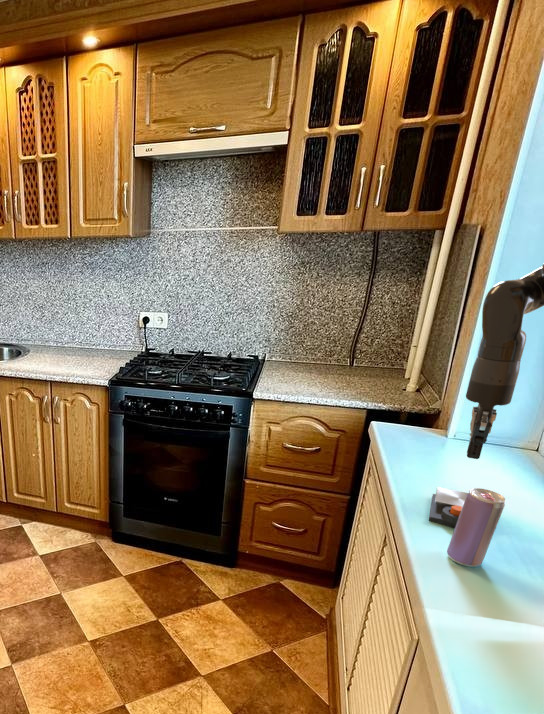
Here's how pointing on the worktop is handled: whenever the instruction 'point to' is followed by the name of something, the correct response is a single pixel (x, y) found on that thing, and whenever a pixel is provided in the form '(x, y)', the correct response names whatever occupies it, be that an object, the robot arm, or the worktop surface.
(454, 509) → the button
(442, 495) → the scale pan
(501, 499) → the beverage can
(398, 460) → the worktop surface
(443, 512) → the scale
